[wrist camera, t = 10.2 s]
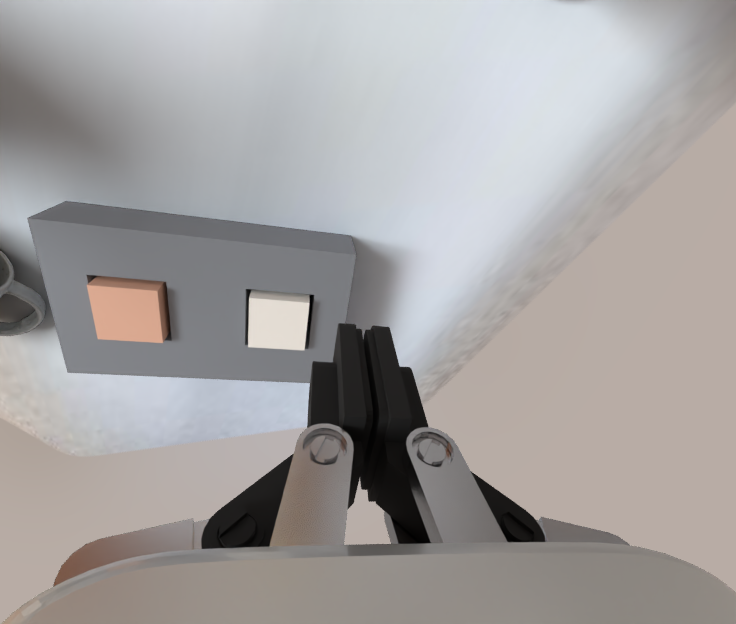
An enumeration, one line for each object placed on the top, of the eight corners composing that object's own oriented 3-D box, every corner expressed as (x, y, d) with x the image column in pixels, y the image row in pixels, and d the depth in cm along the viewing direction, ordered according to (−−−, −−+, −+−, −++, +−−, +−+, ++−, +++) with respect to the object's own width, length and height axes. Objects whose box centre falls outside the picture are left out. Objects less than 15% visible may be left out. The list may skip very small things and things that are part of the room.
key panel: (350, 235, 36) (356, 254, 32) (332, 355, 43) (335, 384, 39) (65, 201, 32) (27, 218, 27) (94, 341, 38) (67, 372, 34)
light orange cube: (175, 267, 34) (157, 290, 30) (179, 315, 37) (162, 343, 33) (114, 261, 33) (86, 285, 29) (122, 310, 36) (97, 339, 32)
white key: (309, 279, 37) (309, 302, 33) (305, 323, 39) (304, 350, 35) (256, 274, 36) (249, 297, 32) (254, 319, 38) (248, 347, 34)
